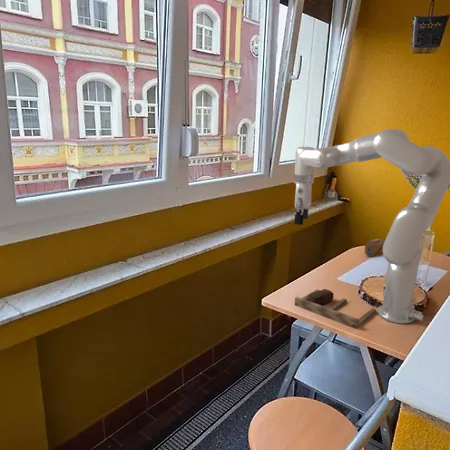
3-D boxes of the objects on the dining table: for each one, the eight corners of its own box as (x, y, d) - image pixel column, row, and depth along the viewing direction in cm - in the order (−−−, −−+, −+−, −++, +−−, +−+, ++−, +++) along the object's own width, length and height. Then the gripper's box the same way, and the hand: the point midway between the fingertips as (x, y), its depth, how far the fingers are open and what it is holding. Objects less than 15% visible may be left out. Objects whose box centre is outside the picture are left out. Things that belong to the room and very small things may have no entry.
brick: (314, 309, 148) (315, 298, 147) (306, 305, 151) (307, 294, 150) (333, 302, 154) (334, 291, 153) (325, 298, 157) (326, 287, 156)
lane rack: (375, 312, 146) (376, 305, 145) (356, 328, 135) (356, 320, 134) (316, 292, 162) (317, 285, 161) (294, 305, 151) (295, 297, 150)
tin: (367, 258, 201) (369, 242, 198) (362, 256, 203) (364, 240, 201) (387, 253, 208) (389, 238, 206) (382, 252, 210) (384, 236, 208)
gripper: (309, 183, 148) (306, 228, 152) (317, 176, 163) (314, 217, 168) (289, 181, 150) (286, 225, 155) (299, 175, 166) (296, 215, 170)
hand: (301, 221), depth 161 cm, fingers open, 9 cm apart
